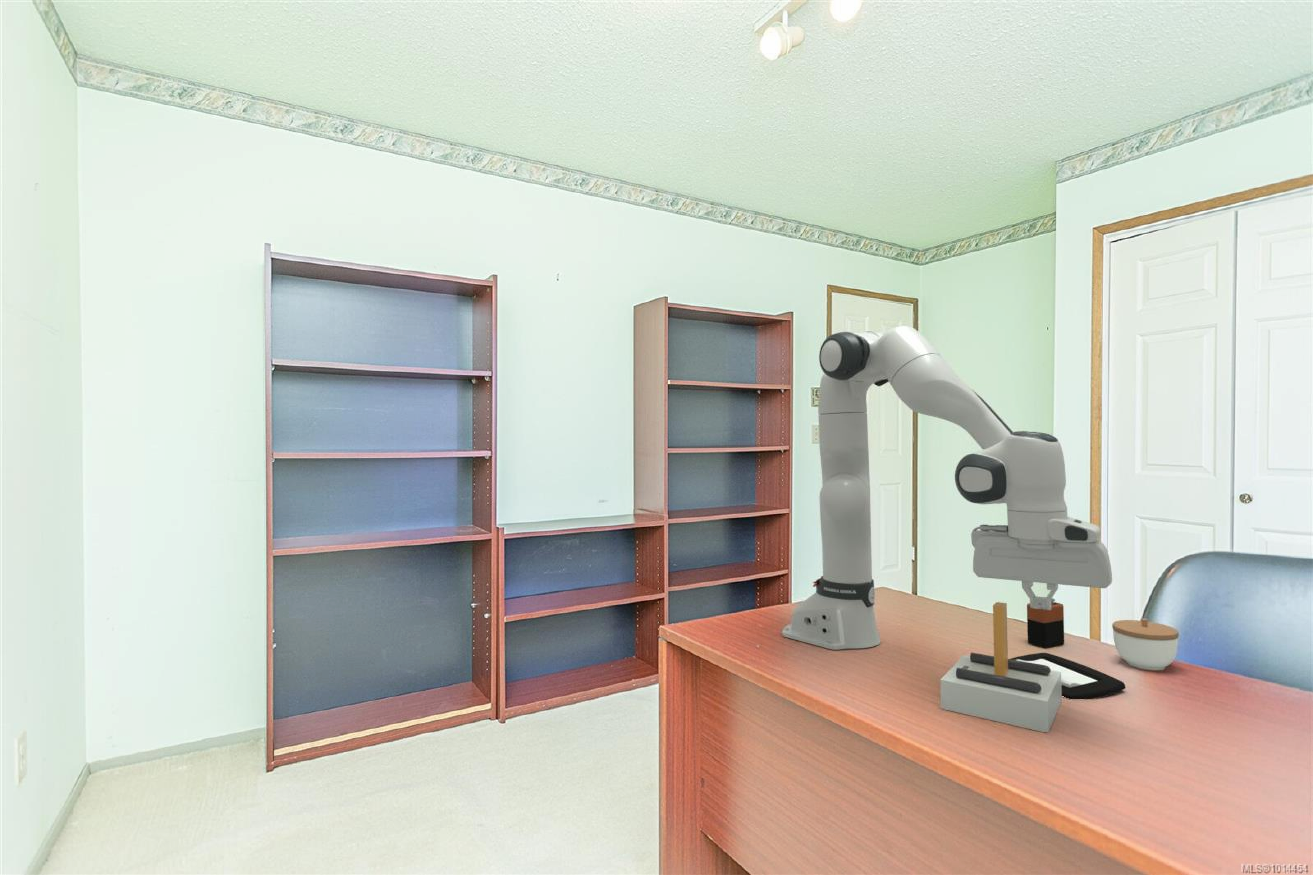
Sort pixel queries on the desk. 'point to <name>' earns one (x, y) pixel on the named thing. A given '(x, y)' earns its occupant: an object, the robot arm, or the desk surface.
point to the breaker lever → (1000, 639)
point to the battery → (1046, 625)
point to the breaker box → (1003, 692)
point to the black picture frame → (1076, 677)
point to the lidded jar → (1145, 643)
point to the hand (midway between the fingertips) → (1040, 608)
